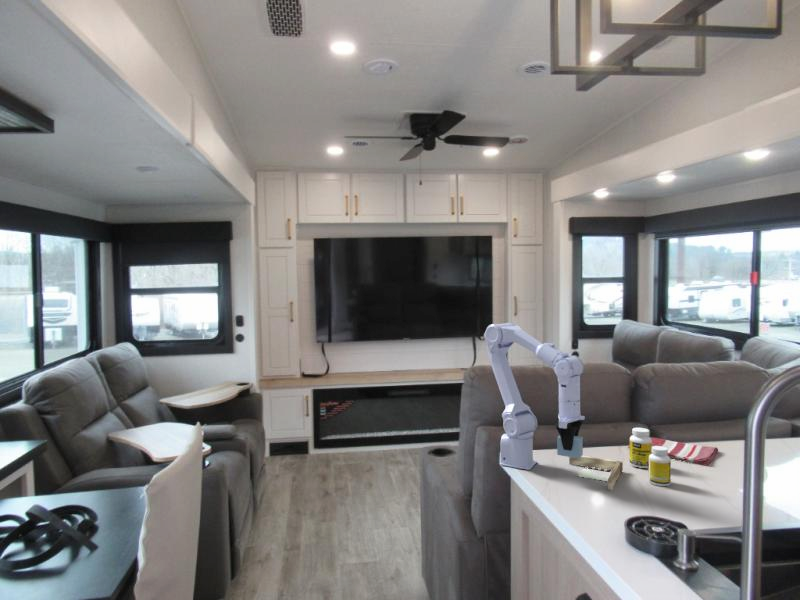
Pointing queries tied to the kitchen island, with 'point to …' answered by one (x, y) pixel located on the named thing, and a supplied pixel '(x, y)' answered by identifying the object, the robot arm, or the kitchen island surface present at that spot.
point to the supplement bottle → (659, 466)
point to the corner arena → (599, 463)
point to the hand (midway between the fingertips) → (569, 447)
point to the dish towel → (686, 451)
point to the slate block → (576, 449)
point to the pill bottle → (640, 447)
